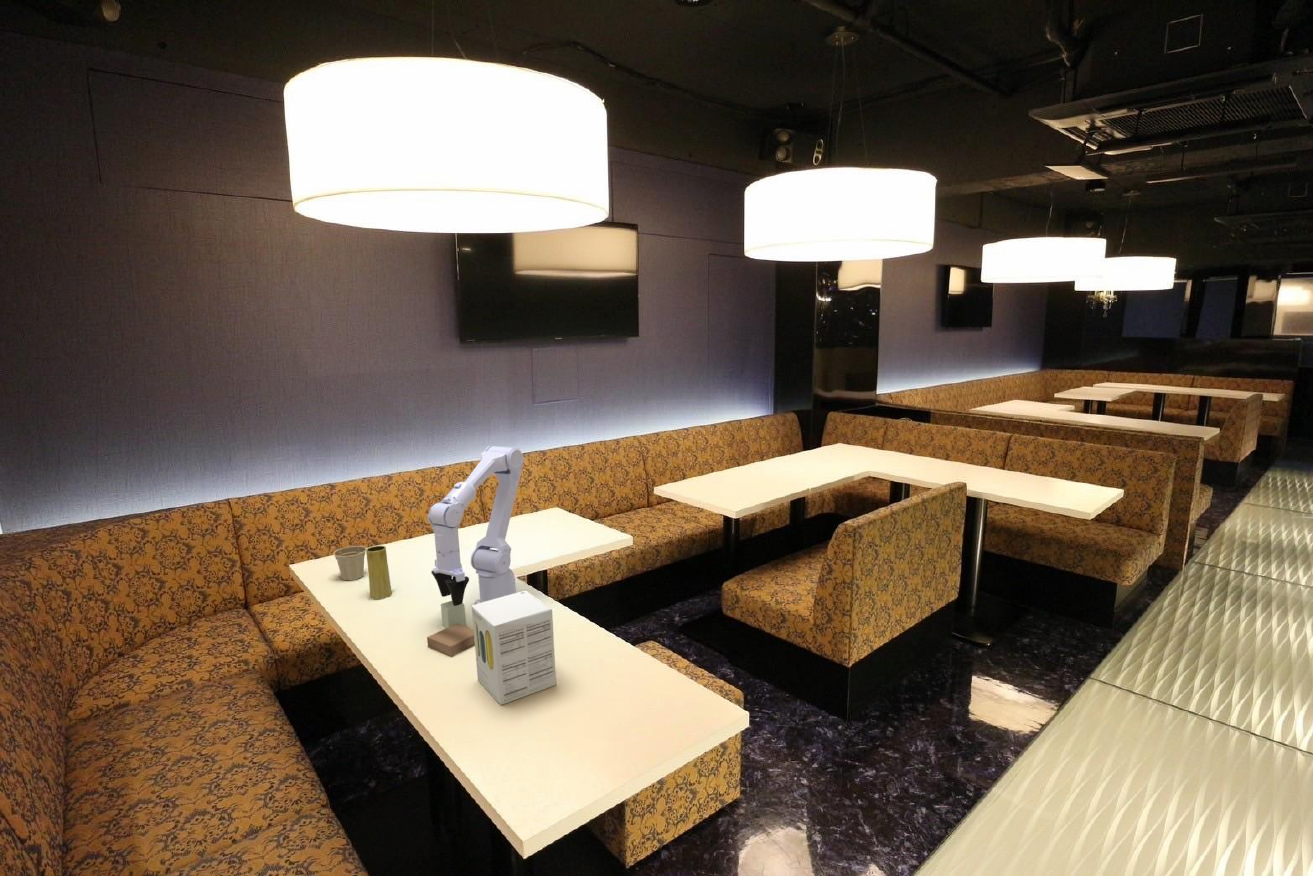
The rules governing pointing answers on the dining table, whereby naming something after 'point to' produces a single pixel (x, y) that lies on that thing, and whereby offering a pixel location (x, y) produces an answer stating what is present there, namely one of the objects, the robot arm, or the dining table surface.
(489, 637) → the supplement box
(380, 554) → the vase
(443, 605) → the sage block
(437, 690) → the dining table surface
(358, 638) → the dining table surface
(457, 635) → the walnut slab
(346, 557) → the flower pot
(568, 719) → the dining table surface
